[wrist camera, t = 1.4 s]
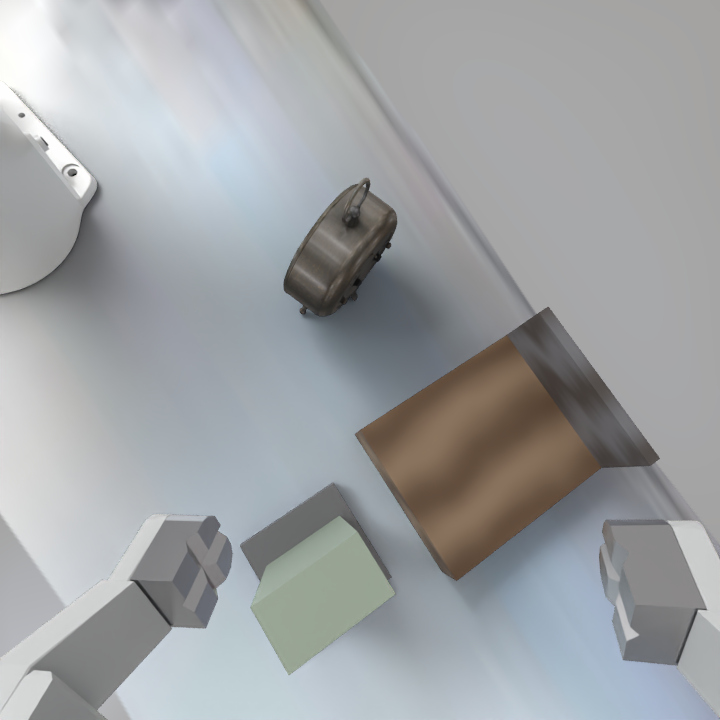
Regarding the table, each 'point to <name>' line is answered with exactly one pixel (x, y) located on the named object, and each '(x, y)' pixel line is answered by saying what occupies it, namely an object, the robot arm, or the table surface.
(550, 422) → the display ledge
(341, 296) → the alarm clock
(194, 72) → the table surface
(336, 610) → the green pillar on base
